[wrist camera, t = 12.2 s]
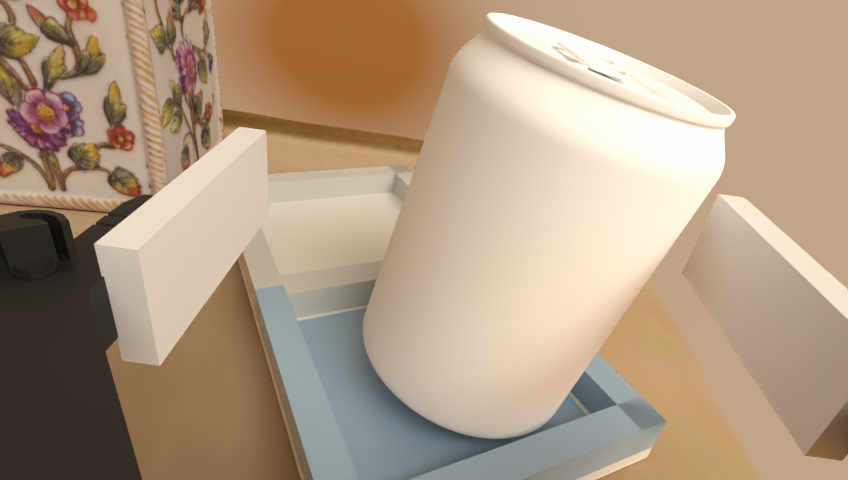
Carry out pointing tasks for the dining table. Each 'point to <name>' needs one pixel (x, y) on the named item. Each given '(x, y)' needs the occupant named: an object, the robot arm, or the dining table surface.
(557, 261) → the beverage can
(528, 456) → the divided tray
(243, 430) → the dining table surface
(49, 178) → the decorative jar
